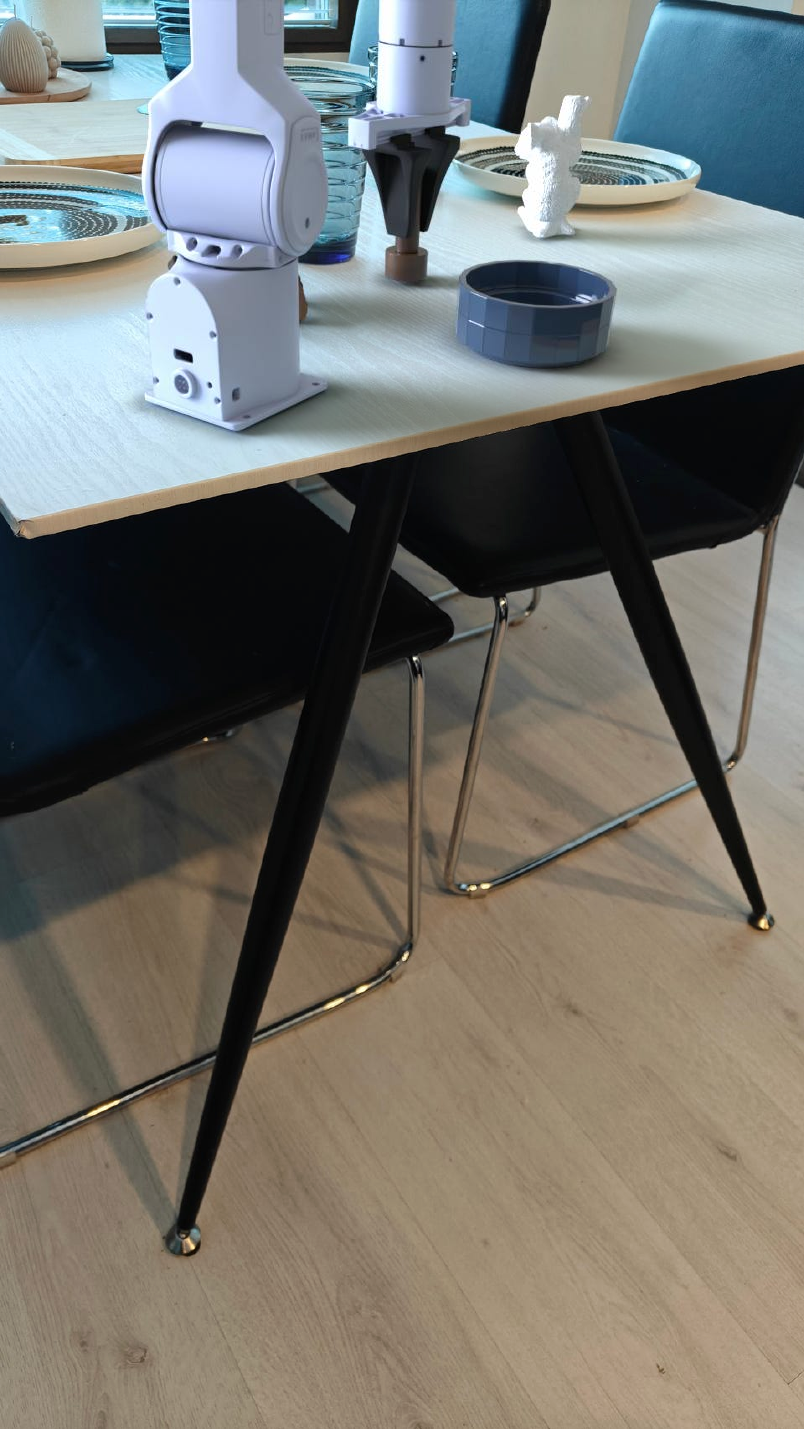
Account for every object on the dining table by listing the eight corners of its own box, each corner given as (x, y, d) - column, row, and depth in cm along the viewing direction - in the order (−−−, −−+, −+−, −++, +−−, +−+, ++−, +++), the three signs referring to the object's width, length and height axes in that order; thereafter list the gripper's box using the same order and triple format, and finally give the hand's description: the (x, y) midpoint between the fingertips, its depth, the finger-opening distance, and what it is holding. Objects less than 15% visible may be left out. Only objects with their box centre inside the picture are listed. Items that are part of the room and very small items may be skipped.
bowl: (562, 384, 76) (571, 319, 73) (425, 346, 81) (429, 284, 78) (631, 341, 83) (641, 280, 81) (502, 309, 88) (508, 251, 86)
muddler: (411, 284, 91) (416, 173, 86) (376, 275, 93) (379, 166, 88) (434, 274, 94) (441, 166, 88) (400, 266, 95) (404, 159, 90)
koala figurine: (554, 221, 111) (570, 87, 104) (601, 236, 107) (622, 98, 100) (492, 231, 107) (504, 92, 100) (539, 248, 103) (555, 104, 96)
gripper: (423, 30, 89) (415, 208, 98) (315, 44, 80) (316, 240, 88) (498, 40, 86) (483, 223, 95) (395, 55, 77) (388, 257, 85)
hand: (407, 232), depth 91 cm, fingers closed on muddler, 2 cm apart
